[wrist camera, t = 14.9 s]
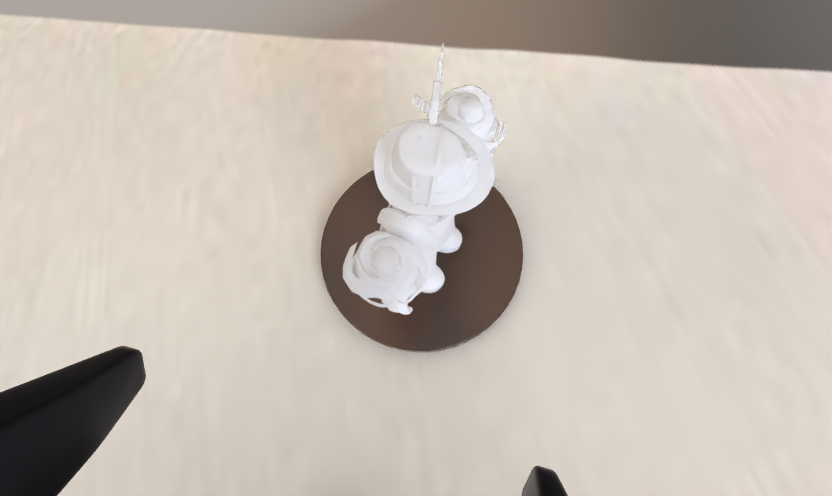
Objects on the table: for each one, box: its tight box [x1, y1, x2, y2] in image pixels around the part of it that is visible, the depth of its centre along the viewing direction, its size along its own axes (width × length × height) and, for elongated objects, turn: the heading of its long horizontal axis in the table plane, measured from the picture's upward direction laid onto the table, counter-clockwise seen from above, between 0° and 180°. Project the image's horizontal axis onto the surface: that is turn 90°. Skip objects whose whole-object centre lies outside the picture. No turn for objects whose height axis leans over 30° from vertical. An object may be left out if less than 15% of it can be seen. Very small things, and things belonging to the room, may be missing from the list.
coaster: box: [321, 170, 523, 352], centre depth 24 cm, size 11×11×1 cm
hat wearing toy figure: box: [343, 44, 506, 315], centre depth 18 cm, size 9×4×12 cm, turn 152°
